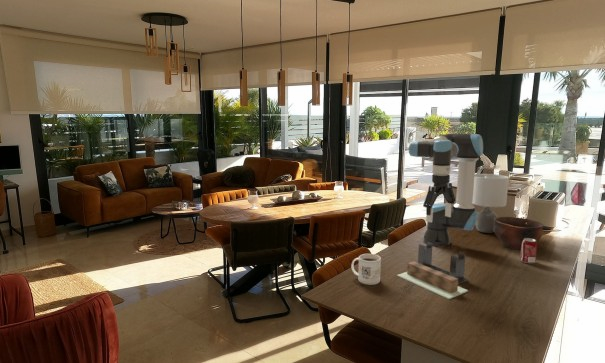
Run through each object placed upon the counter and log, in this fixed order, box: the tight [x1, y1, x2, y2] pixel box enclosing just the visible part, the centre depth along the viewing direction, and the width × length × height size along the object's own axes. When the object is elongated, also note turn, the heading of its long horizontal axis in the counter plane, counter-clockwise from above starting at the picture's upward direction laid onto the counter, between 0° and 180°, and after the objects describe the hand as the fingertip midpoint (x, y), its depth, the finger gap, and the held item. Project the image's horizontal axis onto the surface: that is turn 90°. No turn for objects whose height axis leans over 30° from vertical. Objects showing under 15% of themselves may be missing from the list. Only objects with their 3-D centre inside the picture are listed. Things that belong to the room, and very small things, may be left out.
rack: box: [417, 242, 469, 285], centre depth 181 cm, size 25×7×12 cm, turn 34°
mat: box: [396, 271, 469, 300], centre depth 171 cm, size 28×13×1 cm, turn 34°
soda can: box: [519, 238, 538, 265], centre depth 195 cm, size 7×7×12 cm
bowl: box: [493, 216, 545, 251], centre depth 218 cm, size 25×25×15 cm
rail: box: [406, 261, 459, 293], centre depth 170 cm, size 24×4×6 cm, turn 34°
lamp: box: [472, 173, 510, 234], centre depth 245 cm, size 21×21×37 cm
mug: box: [350, 253, 382, 286], centre depth 174 cm, size 10×12×11 cm
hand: (438, 219), depth 177 cm, fingers open, 13 cm apart
